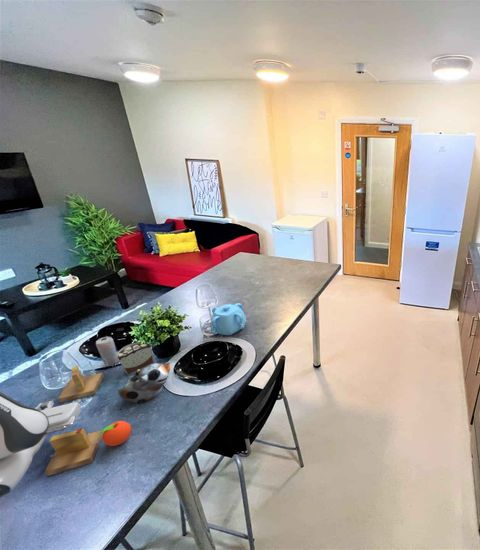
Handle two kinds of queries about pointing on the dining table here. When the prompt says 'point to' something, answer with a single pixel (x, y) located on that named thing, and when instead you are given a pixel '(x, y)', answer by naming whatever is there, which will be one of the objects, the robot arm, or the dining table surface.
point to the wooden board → (75, 456)
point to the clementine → (116, 433)
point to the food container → (135, 357)
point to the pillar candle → (107, 351)
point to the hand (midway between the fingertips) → (47, 403)
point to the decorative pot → (228, 319)
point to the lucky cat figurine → (145, 383)
